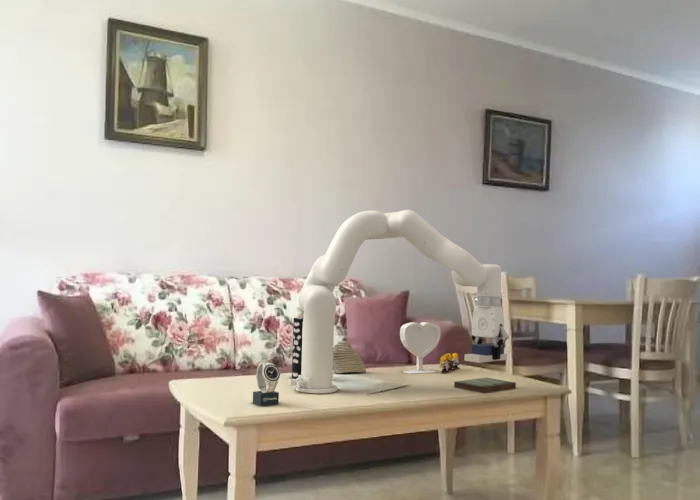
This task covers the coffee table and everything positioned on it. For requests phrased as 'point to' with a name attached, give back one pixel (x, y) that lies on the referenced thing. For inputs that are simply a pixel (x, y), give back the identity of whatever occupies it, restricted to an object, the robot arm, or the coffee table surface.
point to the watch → (271, 377)
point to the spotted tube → (297, 347)
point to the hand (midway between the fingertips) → (487, 357)
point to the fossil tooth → (346, 359)
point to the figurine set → (449, 362)
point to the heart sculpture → (419, 341)
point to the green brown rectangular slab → (485, 385)
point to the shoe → (483, 353)
